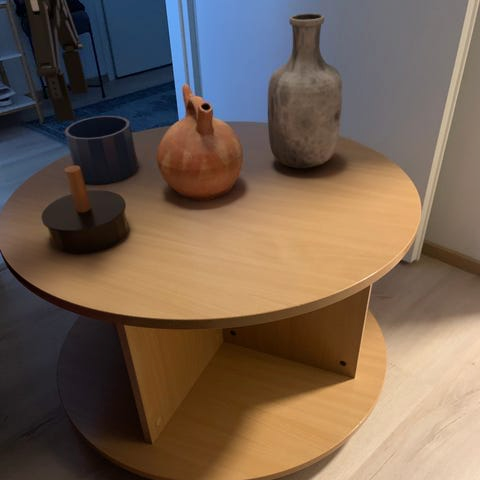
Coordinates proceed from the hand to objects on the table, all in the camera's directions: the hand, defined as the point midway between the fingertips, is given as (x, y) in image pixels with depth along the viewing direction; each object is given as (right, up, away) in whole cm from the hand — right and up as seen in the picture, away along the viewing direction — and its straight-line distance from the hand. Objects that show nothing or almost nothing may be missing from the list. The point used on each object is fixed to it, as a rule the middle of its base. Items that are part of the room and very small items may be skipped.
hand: (73, 105), depth 83 cm
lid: (-2, -15, +13) cm, 19 cm away
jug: (+19, -6, +28) cm, 35 cm away
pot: (-4, +1, +38) cm, 38 cm away
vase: (+42, +1, +35) cm, 55 cm away
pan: (-2, -19, +16) cm, 24 cm away
